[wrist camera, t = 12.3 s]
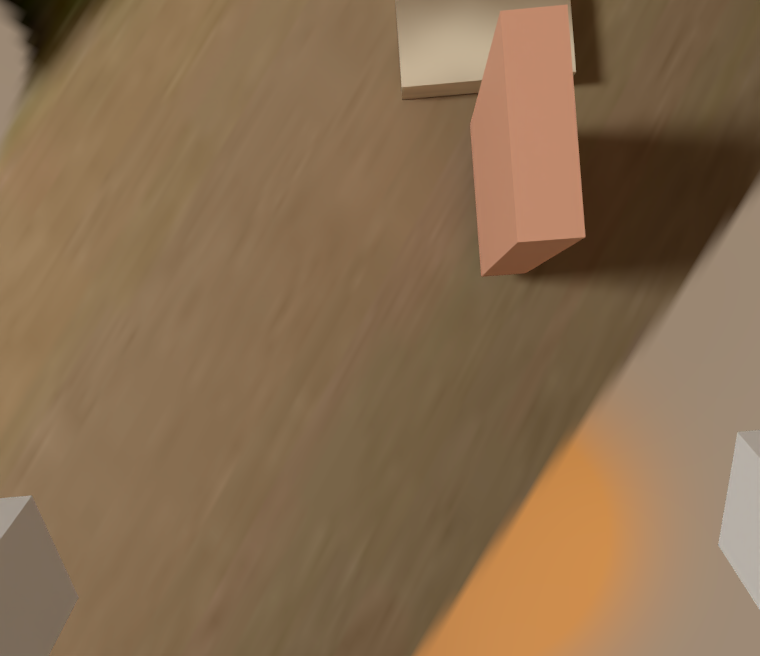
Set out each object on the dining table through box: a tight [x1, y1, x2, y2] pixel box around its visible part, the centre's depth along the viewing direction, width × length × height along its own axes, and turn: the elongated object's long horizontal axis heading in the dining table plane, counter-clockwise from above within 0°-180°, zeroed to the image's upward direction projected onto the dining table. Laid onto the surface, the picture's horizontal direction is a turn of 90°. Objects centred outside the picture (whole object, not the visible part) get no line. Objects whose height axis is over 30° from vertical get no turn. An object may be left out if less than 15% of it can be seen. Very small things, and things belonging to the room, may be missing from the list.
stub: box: [470, 4, 585, 277], centre depth 24 cm, size 7×2×10 cm, turn 4°
